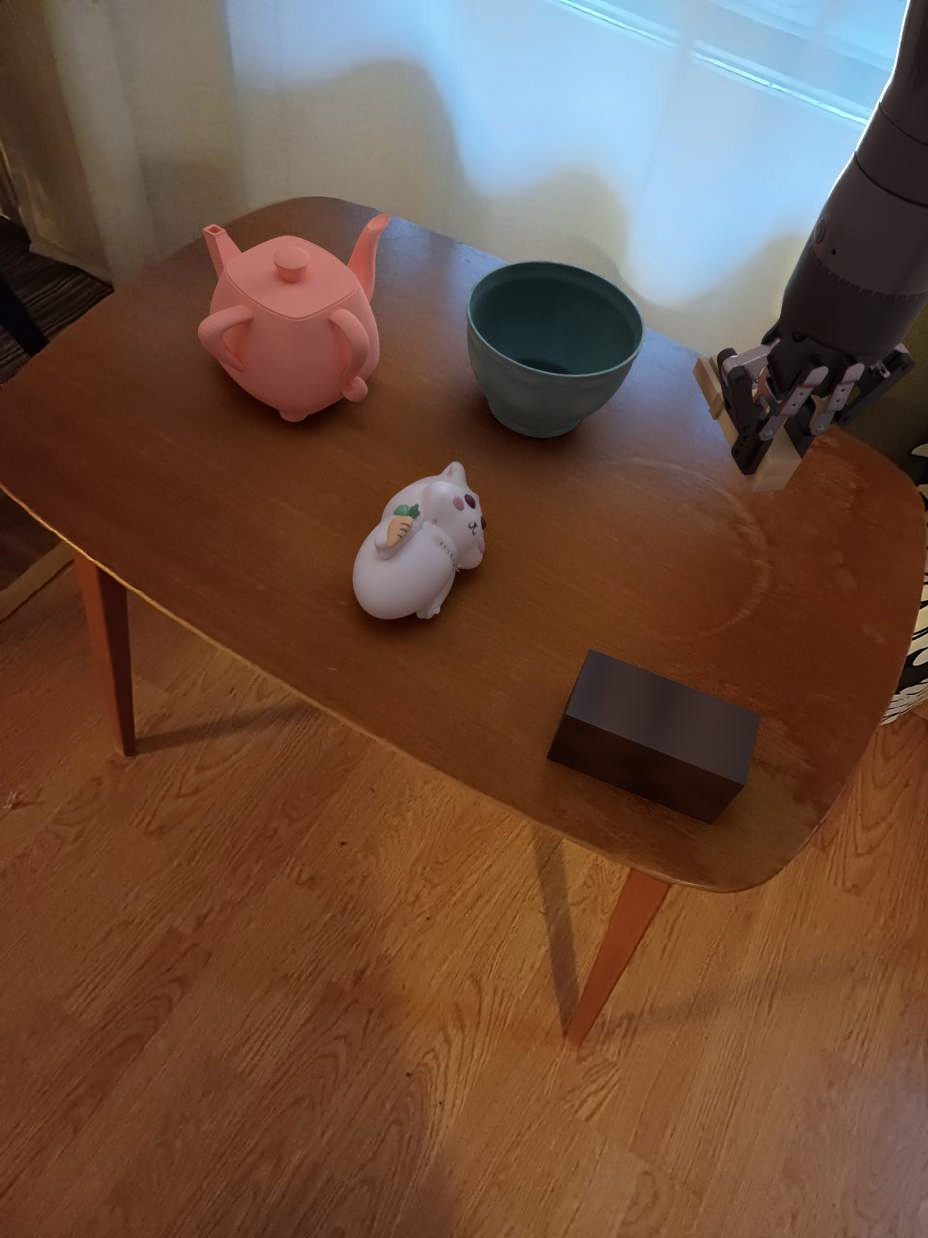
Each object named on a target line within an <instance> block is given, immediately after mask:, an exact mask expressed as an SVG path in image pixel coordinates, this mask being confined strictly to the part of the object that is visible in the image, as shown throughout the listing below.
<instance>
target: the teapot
mask: <svg viewBox="0 0 928 1238" xmlns="http://www.w3.org/2000/svg"><path fill="white" fill-rule="evenodd" d="M390 220H391V214H389V213H387V212H383V213H380V214H378V215H375V216H374V217H373V218H371V219H370V220H368V222H367V223H366V225H365V226H364V228H363V229H362V231H361V232H360V234H359V237H358V238H357V240H356V243H355V246H354V248H353V251H352V253H351V255H350V258H349V260H348V262H347V264H345V263H344V262H343V261H341V260H340V259H339V258H338V257H336V256H335V255H334V254H333V253H331V252H330V251H328V250H326V249H325V248H322V246H319V245H317V244H315V243H313V242H311V241H309V240H307V239H305V238H302V237H298V236H294V235H281V236H277V237H274V238H271V239H269V240H266V241H264V242H262V243H260V244H257V245H255V246H253V247H251V248H249V249H247V250H245V251H243V252H242V251H241V250H240V249H239V247H238V246H237V245H236V243H235V242H234V241H233V240H232V238H231V237H230V235H229V234H228V233H227V230H226V229H224V228H223V227H221V226H219V225H217V224H215V223H212V224H210V225H208V226H206V227H204V228H202V233H203V236H204V239H205V242H206V245H207V249H208V252H209V256H210V258H211V261H212V264H213V267H214V270H215V273H216V276H217V279H218V281H217V283H216V286H215V288H214V291H213V295H212V299H211V302H210V308H209V315H208V316H207V317H205V318H204V319H203V320H202V321H201V322H200V323H199V325H198V327H197V328H198V329H197V335H198V339H199V341H200V343H201V345H202V346H203V347H204V349H205V350H206V351H207V352H208V353H209V354H210V355H212V356H213V357H214V358H215V359H217V361H218V363H219V364H220V365H221V367H222V368H223V369H224V370H225V371H226V373H228V375H229V376H230V377H231V378H232V379H233V381H234V382H236V383H237V384H238V386H240V387H241V388H242V389H243V390H244V391H245V392H246V393H248V394H250V395H251V396H252V397H254V398H255V399H257V400H258V401H260V402H262V403H264V404H265V405H267V406H270V407H271V408H274V409H275V410H277V411H279V415H280V417H281V418H282V419H283V420H285V421H286V422H293V423H297V422H301V421H304V420H305V419H306V418H307V417H308V416H309V415H312V414H314V413H317V412H319V411H322V410H323V409H324V410H325V409H326V408H328V407H330V406H331V405H333V404H335V403H337V402H339V401H341V400H343V398H345V399H346V400H348V401H350V402H353V403H358V402H362V401H363V400H365V399H366V397H367V396H368V393H369V387H368V386H367V384H366V381H367V379H368V378H369V377H370V376H371V375H372V373H373V372H374V370H375V369H376V368H377V366H378V364H379V360H380V337H379V330H378V326H377V322H376V318H375V315H374V312H373V309H372V307H371V304H370V302H371V300H372V298H373V294H374V291H375V284H376V283H375V282H376V256H377V248H378V243H379V240H380V238H381V236H382V233H383V232H384V230H385V229H386V227H387V225H388V224H389V222H390Z"/></svg>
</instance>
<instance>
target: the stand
mask: <svg viewBox="0 0 928 1238" xmlns="http://www.w3.org/2000/svg"><path fill="white" fill-rule="evenodd" d="M576 677H577V678H576V680H575V682H574V684H573V687H572V689H571V691H570V694H569V696H568V699H567V701H566V704H565V707H564V709H563V712H562V715H561V718H560V719H559V722H558V724H557V725H558V726H557V728H556V730H555V734H554V736H553V738H552V741H551V744H550V747H549V749H548V752H547V755H546V759H548V760H551V761H553V762H555V763H558V764H561V765H564V766H565V767H568V768H570V769H573V770H575V771H577V772H581V773H583V774H586V775H588V776H591V777H593V778H595V779H598V780H599V781H602V782H605V783H608V784H610V785H612V786H615V787H617V788H620V789H622V790H625V791H628V792H629V793H632V794H635V795H638V796H639V797H642V798H645V799H647V800H650V801H652V802H655V803H657V804H660V805H662V806H664V807H667V808H670V809H672V810H675V811H677V812H679V813H682V814H685V815H687V816H690V817H692V818H694V819H696V820H699V821H702V822H703V823H706V824H708V825H712V824H713V823H714V822H715V821H716V819H717V818H719V816H720V815H721V814H722V813H723V812H724V811H725V809H726V808H728V806H729V805H730V804H731V803H732V801H733V800H734V799H735V798H736V797H737V796H738V795H739V794H740V793H741V792H742V791H743V789H744V788H745V787H746V785H747V782H748V776H749V773H750V768H751V763H752V759H753V754H754V751H755V746H756V741H757V737H758V733H759V728H760V724H761V719H762V714H761V713H759V712H756V711H753V710H751V709H748V708H745V707H743V706H741V705H738V704H736V703H733V702H730V701H728V700H725V699H723V698H720V697H718V696H715V695H712V694H709V693H707V692H705V691H703V690H700V689H697V688H695V687H691V686H689V685H686V684H684V683H682V682H678V681H676V680H673V679H671V678H668V677H666V676H663V675H661V674H658V673H655V672H653V671H650V670H648V669H645V668H644V667H643V668H642V667H640V666H638V665H635V664H632V663H631V662H630V663H629V662H627V661H624V660H623V659H619V658H618V657H615V656H612V655H609V654H607V653H604V652H601V651H600V650H596V649H594V648H591V647H590V648H589V649H588V652H587V654H586V656H585V658H584V661H583V663H582V666H581V668H580V671H579V673H578V675H577V676H576Z"/></svg>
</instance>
